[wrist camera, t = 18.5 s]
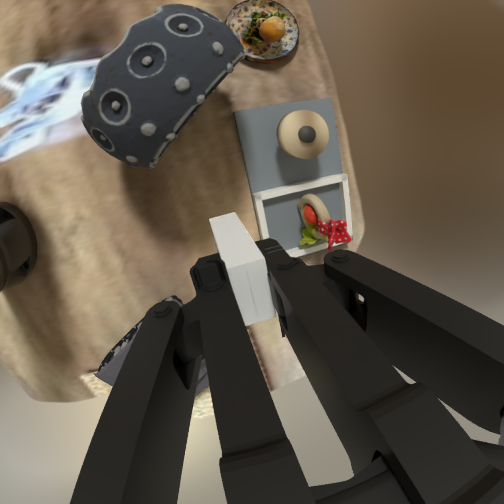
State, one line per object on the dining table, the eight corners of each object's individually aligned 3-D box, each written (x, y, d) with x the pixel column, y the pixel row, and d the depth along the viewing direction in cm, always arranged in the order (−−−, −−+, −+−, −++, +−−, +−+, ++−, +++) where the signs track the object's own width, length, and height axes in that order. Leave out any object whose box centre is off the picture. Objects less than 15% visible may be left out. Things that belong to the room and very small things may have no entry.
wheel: (281, 161, 41) (288, 163, 38) (272, 114, 38) (278, 113, 35) (324, 153, 42) (334, 155, 39) (317, 108, 39) (326, 106, 36)
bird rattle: (279, 209, 50) (303, 257, 50) (292, 198, 39) (322, 259, 39) (311, 193, 50) (334, 240, 50) (331, 179, 39) (360, 239, 39)
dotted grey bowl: (238, 67, 38) (277, 23, 20) (155, 168, 42) (134, 194, 24) (183, 29, 34) (187, -36, 16) (100, 131, 37) (43, 132, 19)
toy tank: (239, 335, 57) (257, 390, 44) (161, 397, 60) (163, 451, 46) (170, 282, 50) (169, 336, 36) (96, 359, 52) (83, 414, 39)
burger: (284, -1, 35) (300, -19, 28) (304, 57, 40) (324, 47, 33) (213, 9, 34) (219, -11, 27) (233, 70, 39) (243, 59, 32)
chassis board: (265, 264, 52) (271, 274, 48) (233, 112, 41) (238, 110, 37) (346, 240, 54) (357, 248, 50) (328, 98, 43) (339, 96, 39)
